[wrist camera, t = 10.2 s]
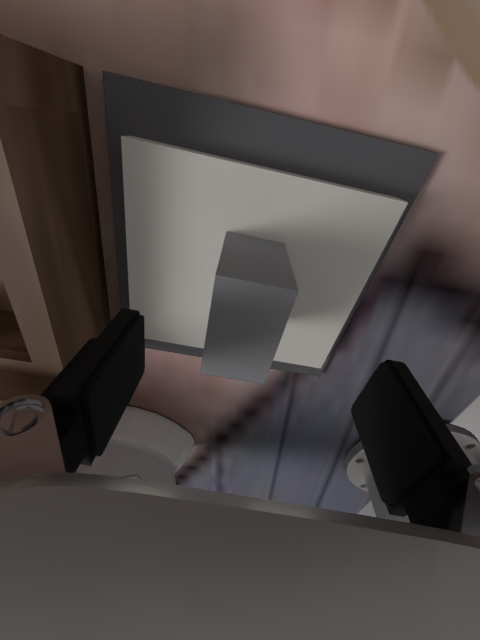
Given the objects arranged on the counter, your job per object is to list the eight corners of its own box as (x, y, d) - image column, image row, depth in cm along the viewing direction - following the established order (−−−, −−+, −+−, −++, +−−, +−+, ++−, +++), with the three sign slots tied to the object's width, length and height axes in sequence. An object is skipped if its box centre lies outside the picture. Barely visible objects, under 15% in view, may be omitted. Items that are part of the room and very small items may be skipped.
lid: (396, 197, 13) (486, 237, 8) (317, 356, 20) (340, 435, 14) (131, 135, 12) (45, 137, 7) (137, 325, 18) (94, 398, 13)
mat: (434, 152, 12) (439, 153, 12) (319, 372, 21) (320, 376, 21) (107, 72, 11) (102, 70, 11) (126, 340, 20) (124, 344, 19)
